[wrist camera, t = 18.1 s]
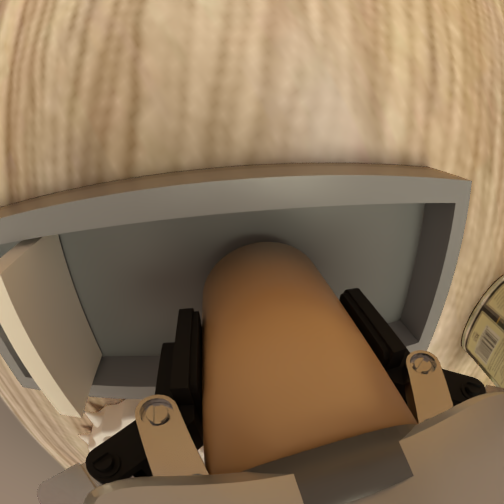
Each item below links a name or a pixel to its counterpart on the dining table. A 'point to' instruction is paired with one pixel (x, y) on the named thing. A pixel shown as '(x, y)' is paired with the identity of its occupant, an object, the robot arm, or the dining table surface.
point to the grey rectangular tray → (238, 235)
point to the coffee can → (488, 333)
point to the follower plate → (48, 323)
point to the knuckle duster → (112, 422)
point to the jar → (295, 381)
